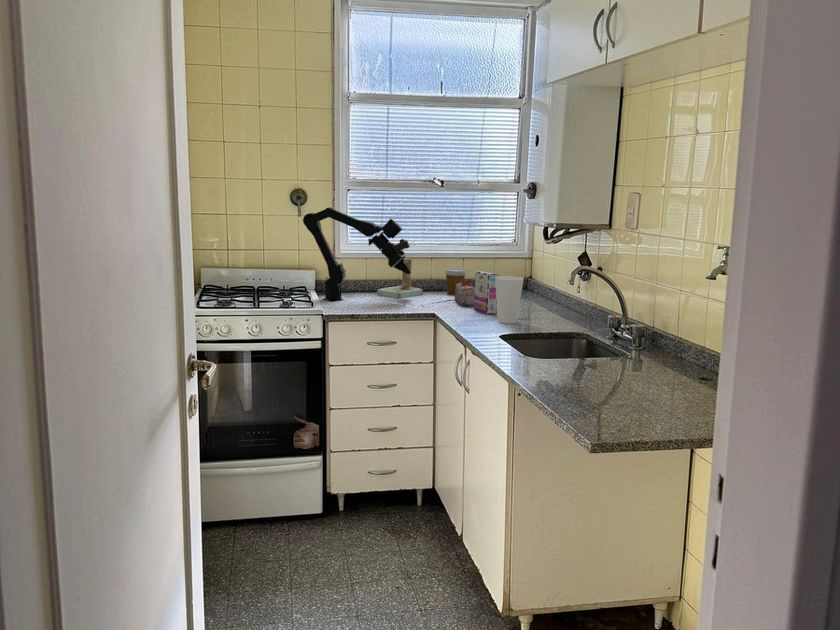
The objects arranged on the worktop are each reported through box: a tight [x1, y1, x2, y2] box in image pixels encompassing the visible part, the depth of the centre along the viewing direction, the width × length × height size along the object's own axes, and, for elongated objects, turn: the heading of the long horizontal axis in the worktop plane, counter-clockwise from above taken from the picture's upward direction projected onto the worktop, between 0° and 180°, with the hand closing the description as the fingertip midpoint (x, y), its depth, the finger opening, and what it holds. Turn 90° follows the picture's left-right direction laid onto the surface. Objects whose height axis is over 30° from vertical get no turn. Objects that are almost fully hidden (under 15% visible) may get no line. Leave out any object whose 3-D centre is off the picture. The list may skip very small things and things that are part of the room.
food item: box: [454, 281, 475, 307], centre depth 330 cm, size 14×8×10 cm, turn 14°
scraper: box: [401, 257, 413, 291], centre depth 329 cm, size 4×7×13 cm, turn 177°
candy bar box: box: [473, 270, 499, 315], centre depth 312 cm, size 11×5×16 cm, turn 25°
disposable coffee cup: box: [444, 268, 467, 296], centre depth 350 cm, size 10×10×12 cm
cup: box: [495, 275, 525, 325], centre depth 292 cm, size 11×10×17 cm
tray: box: [376, 285, 424, 299], centre depth 345 cm, size 16×13×4 cm
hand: (410, 272), depth 328 cm, fingers closed on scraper, 4 cm apart
